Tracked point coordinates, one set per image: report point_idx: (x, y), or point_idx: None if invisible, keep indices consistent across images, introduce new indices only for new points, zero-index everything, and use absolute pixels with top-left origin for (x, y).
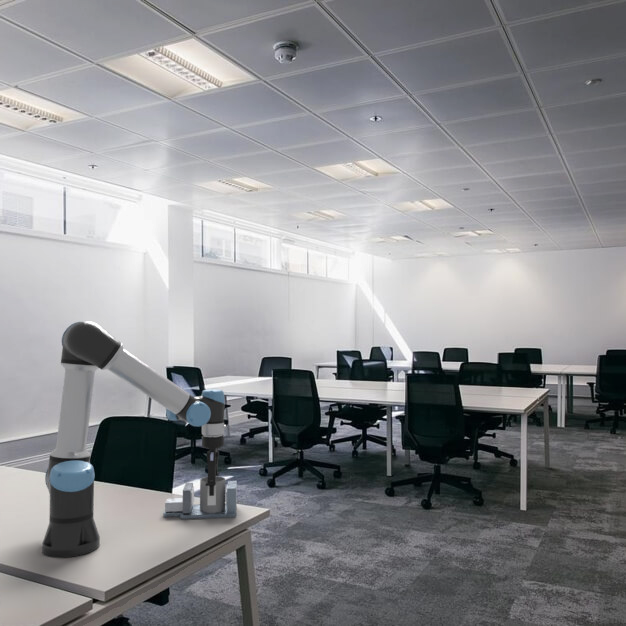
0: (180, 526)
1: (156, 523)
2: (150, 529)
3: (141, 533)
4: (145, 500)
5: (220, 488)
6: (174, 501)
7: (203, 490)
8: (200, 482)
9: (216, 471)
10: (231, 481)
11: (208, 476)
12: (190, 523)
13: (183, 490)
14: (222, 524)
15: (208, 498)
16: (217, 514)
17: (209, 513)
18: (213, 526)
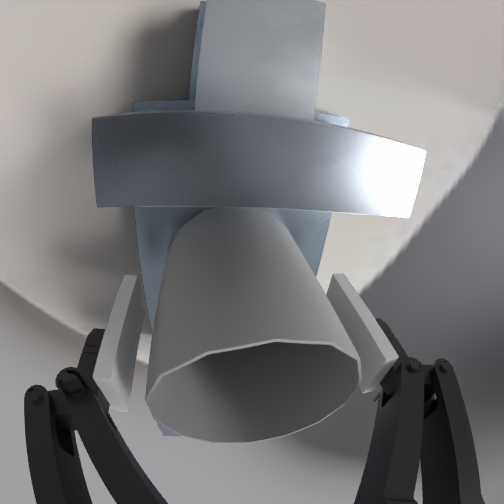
0: (36, 128)
1: (97, 3)
2: (29, 15)
3: (3, 8)
4: (460, 5)
5: (181, 395)
6: (228, 42)
7: (173, 306)
8: (248, 322)
9: (377, 421)
10: None
11: (30, 449)
12: (69, 166)
13: (93, 126)
14: (72, 295)
15: (114, 308)
16: (144, 288)
17: (154, 255)
18: (47, 266)
